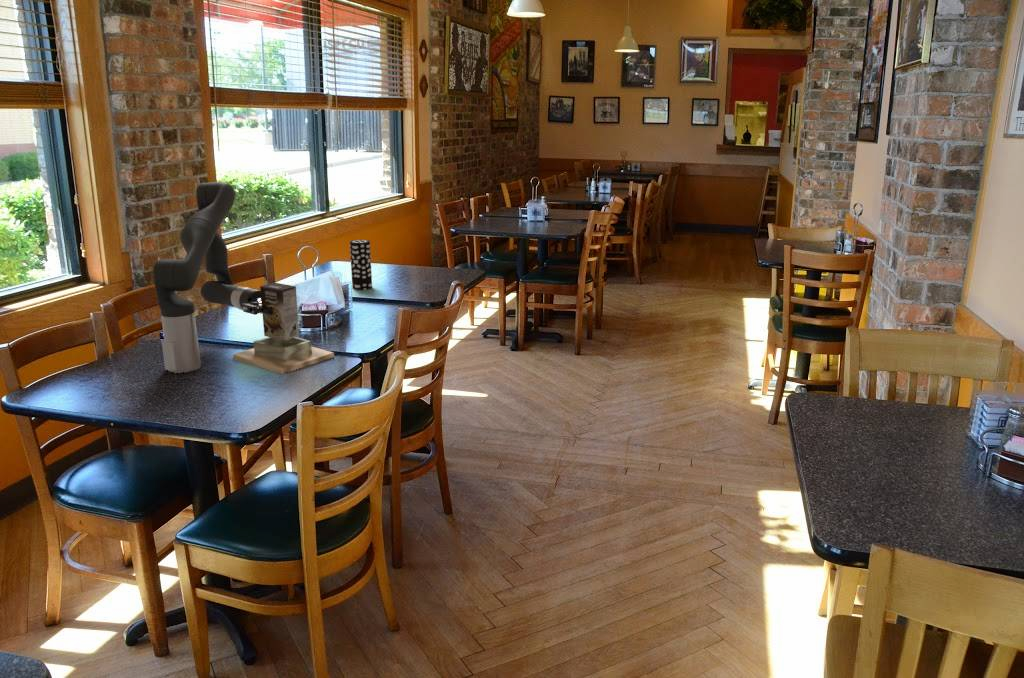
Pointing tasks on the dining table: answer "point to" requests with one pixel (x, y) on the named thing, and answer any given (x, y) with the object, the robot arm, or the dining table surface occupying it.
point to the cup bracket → (283, 354)
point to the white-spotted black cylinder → (361, 264)
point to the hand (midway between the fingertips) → (281, 308)
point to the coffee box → (280, 311)
